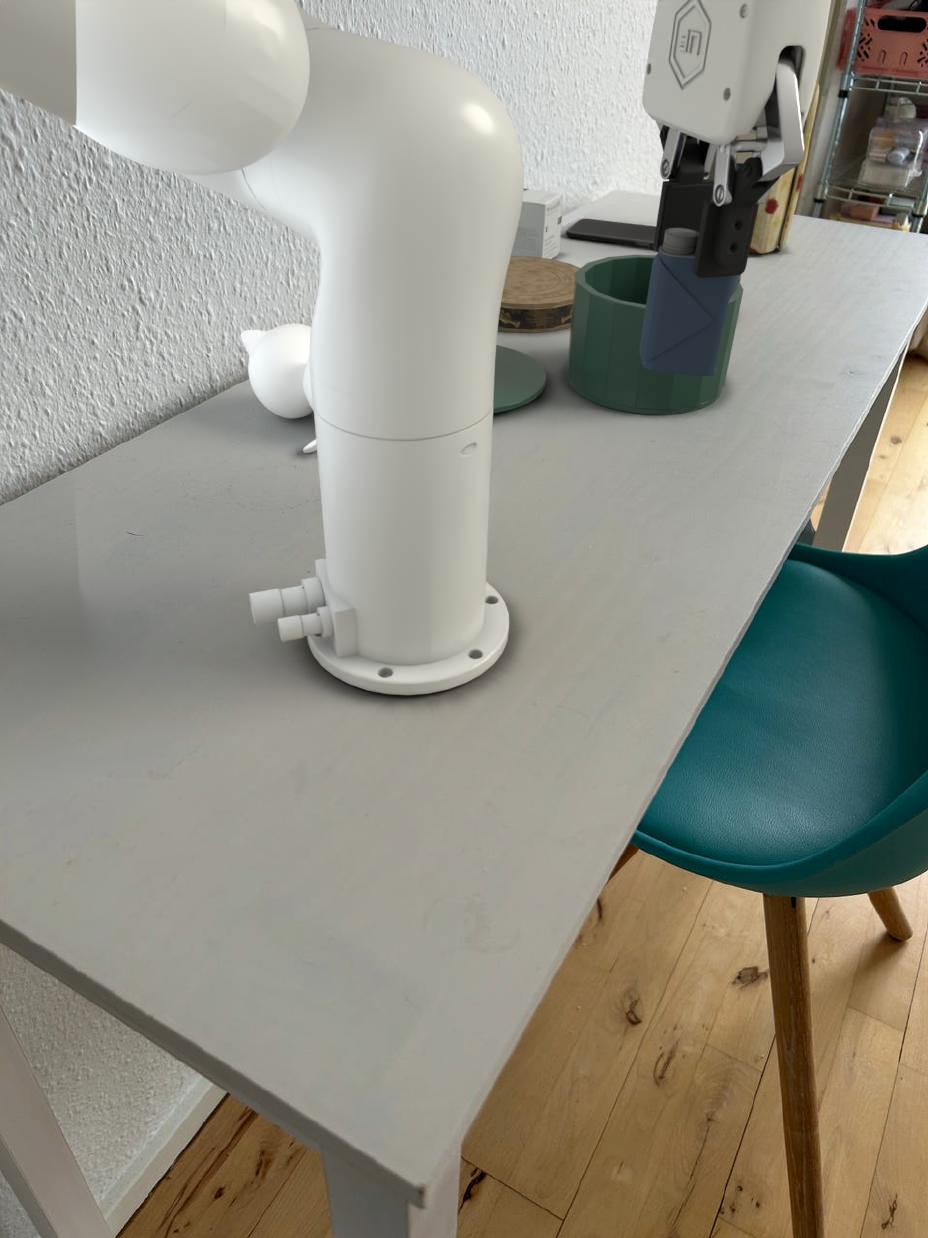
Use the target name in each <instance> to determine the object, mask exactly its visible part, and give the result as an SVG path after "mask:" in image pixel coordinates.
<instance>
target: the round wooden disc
mask: <svg viewBox="0 0 928 1238" xmlns="http://www.w3.org/2000/svg"><path fill="white" fill-rule="evenodd" d="M580 268H581V267H579V266H577V265H574V264H572V263H568V262H566V261H565V262H564V261H561V260H557V259H554V258H552V259H547V258H539V257H531V256H511V257H510V261H509V265H508V269H507V273H506V278H505V283H504V288H503V293H502V300H501V306H500V313H499V322H498V331H500V332H507V333H529V334H531V333H533V334H535V333H545V332H555V331H560V330H564V329H567V328H571V320H572V309H573V298H574V287H575V276H576V272H577V271H578V270H579V269H580Z"/></svg>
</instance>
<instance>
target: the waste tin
mask: <svg viewBox="0 0 928 1238" xmlns="http://www.w3.org/2000/svg"><path fill="white" fill-rule="evenodd" d="M656 255H657V254H626V255H625V254H624V255H615V256H614V255H613V256H606V257H603V258H600V259H596V260H592V261H588V262H587V263H585V264H584V265H583V266H581V267H579V268H580V269H579V270H578V271H577V272H576V276H575V287H574V298H573V309H572V320H571V327H570V331H569V344H568V355H567V364H566V366H567V367H566V368H567V372H566V373H567V374H566V375H567V376H566V378H567V382H568V384H569V386H570V387H571V388H572V389H573V390H574V391H575V392H576V393H577V394H578V395H580V396H581V397H583V398H584V399H586V400H588V401H590V402H592V403H594V404H597V405H600V406H602V407H604V408H605V407H606V408H609V409H611V410H612V409H613V410H616V411H621V412H627V413H632V414H633V413H634V414H641V415H655V416H656V415H657V416H658V415H676V414H677V415H679V414H685V413H691V412H694V411H697V410H701V409H703V408H706V407H708V406H710V405H713V403H714V402H716V401H718V399H719V398H720V397H721V394H722V391H723V388H724V387H725V385H726V379H727V374H728V369H729V364H730V358H731V354H732V351H733V350H732V349H733V345H734V344H733V343H734V339H735V334H736V329H737V324H738V320H739V314H740V310H741V304H742V299H743V294H744V288H743V285H742V284H741V281H740V282H738V283H739V284H738V288H737V290H736V291H735V292H734V294H733V295H732V296H731V298H730V300H729V303H728V308H727V313H726V317H725V322H724V327H723V332H722V337H721V342H720V346H719V351H718V356H717V361H716V372H715V374H714V375H713V376H694V375H686V374H677V373H668V372H659V371H652V370H649V369H647V368H645V367H644V366H643V365H642V363H641V361H642V359H641V356H640V350H639V349H640V342H641V336H642V329H643V323H644V316H645V310H646V303H647V297H648V290H649V284H650V277H651V271H652V264H653V260H654V258H655V256H656Z"/></svg>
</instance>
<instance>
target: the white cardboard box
mask: <svg viewBox="0 0 928 1238" xmlns="http://www.w3.org/2000/svg"><path fill="white" fill-rule="evenodd" d="M563 203H564V194H563V193H561V192H557V191H548V190H541V189H540V190H539V189H533V188H525V187H524V193H523V201H522V207H521V214H520V219H519V224H518V228H517V233H516V237H515V241H514V245H513V249H512V253H511V256H531V257H539V258H547V259H554V258H556V257H557V256H559V254H560V249H561V248H560V247H561V246H560V245H561V233H562V219H563V218H562V217H563Z"/></svg>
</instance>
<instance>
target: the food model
mask: <svg viewBox="0 0 928 1238" xmlns="http://www.w3.org/2000/svg"><path fill="white" fill-rule="evenodd" d="M819 95H820V84H819V82H817V81H816V85H815V89H814V93H813V97H812V101H811V104H810V108H809V111H808V115H807V118H806V120H805V123H804V126H803V136H804V145H805V156H804V159H803V161H802V162H801V163H800V164H799V165H797V166H796V167H794V168H793V169H791V170H790V171H788V172H787V173H785V174H784V175H781V176H780V178H779V179H778V181H777V182H776V183H775V184H774V185H773V186H772V187H771V188H770V189H769V194H768V198H767V200H766V201H765V202H764V203H763V204H759V207H758V212H757V217H756V222H755V227H754V231H753V236H752V241H751V246H750V250H749V254H750V253H755V254H767V253H770V252H773V251H774V250H776V248H777V247H778V249H779V251H783V250H785V248H786V246H787V243H788V239H789V235H790V232H791V227H792V223H793V219H794V215H795V212H796V207H797V203H798V199H799V195H800V191H801V187H802V182H803V179H804V173H805V169H806V164H807V159H808V155H809V149H810V148H809V147H810V142H811V141H810V140H811V138H812V131H813V127H814V122H815V117H816V112H817V108H818V102H819ZM754 139H756V135H755V136H754ZM750 157H752V154H750Z"/></svg>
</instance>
